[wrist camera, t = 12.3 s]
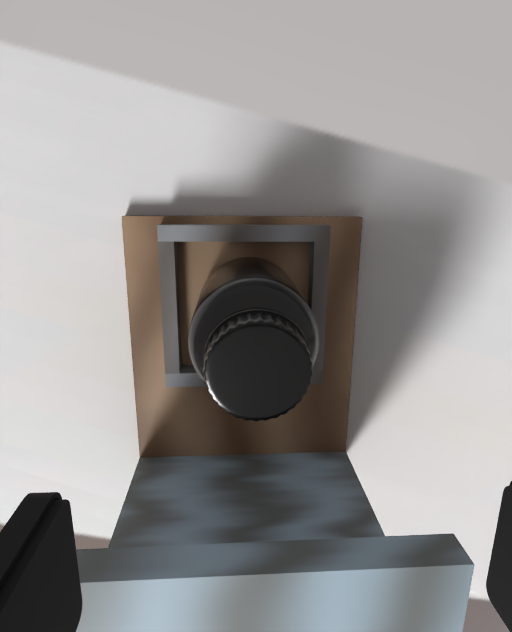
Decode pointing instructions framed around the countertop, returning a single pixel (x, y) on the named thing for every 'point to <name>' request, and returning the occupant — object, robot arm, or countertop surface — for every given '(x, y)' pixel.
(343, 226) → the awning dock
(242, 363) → the supplement bottle
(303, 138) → the countertop surface
